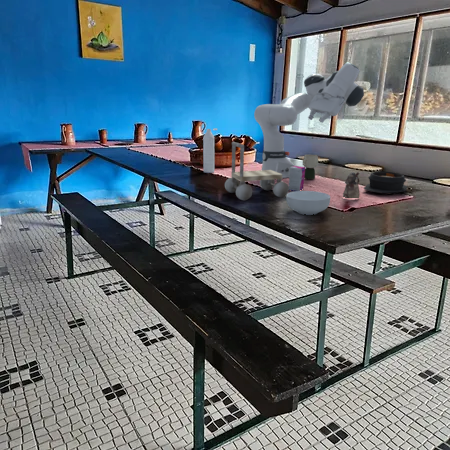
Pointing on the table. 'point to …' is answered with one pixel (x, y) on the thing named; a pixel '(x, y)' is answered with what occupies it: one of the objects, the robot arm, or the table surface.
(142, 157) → the table surface
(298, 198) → the cereal bowl
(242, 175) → the trolley
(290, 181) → the supplement box
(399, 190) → the casserole
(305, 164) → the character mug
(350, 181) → the figurine
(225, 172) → the table surface
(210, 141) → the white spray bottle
